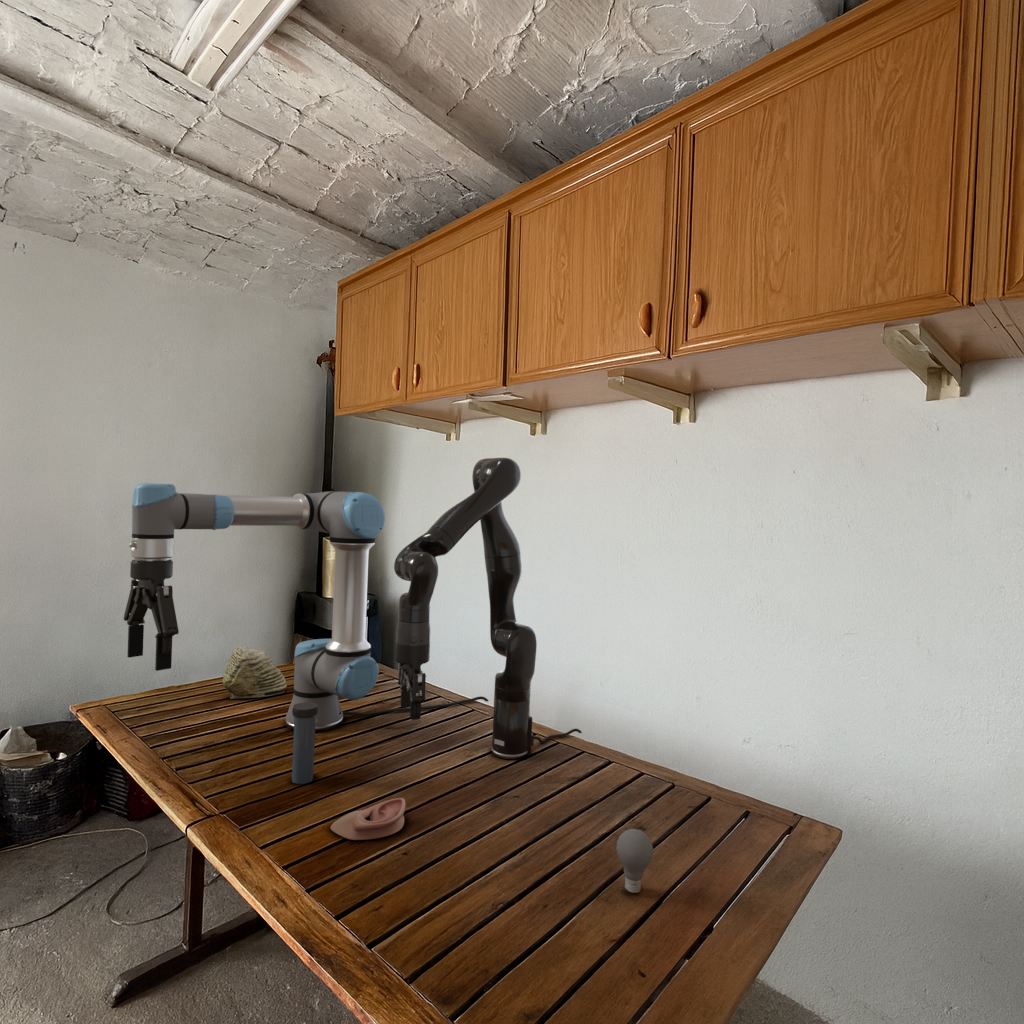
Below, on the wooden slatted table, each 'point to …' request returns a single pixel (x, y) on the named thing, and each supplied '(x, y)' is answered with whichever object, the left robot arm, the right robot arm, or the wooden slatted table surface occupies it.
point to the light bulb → (634, 857)
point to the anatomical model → (372, 821)
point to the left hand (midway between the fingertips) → (148, 662)
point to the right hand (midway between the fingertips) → (410, 712)
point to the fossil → (252, 674)
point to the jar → (303, 750)
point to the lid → (305, 709)
